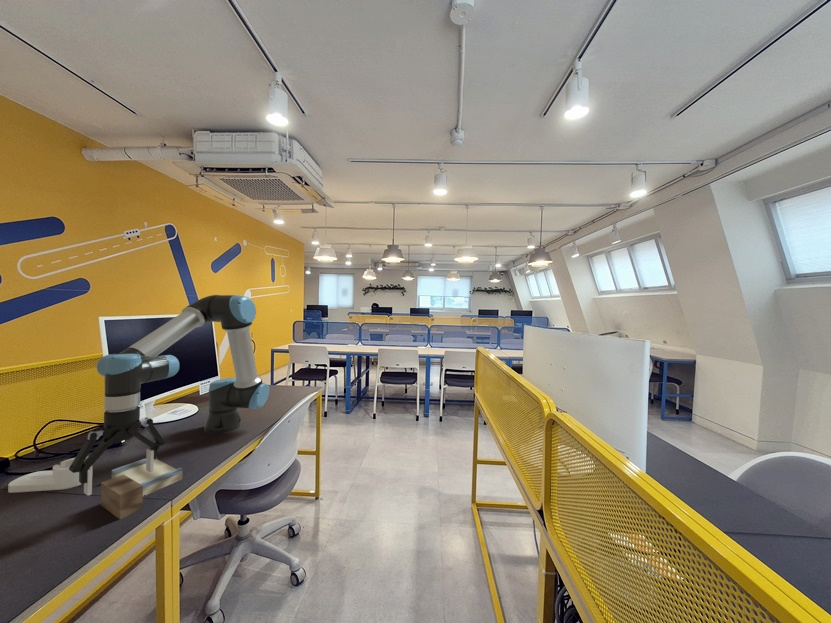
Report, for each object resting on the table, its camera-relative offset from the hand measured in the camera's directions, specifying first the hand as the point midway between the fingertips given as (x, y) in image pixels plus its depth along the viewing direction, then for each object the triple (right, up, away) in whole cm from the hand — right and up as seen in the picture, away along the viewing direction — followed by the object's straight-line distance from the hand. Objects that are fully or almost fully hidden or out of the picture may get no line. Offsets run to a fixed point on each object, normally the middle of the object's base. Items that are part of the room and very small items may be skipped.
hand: (120, 481), depth 89 cm
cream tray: (-5, -7, +14) cm, 16 cm away
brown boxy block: (0, -8, 0) cm, 8 cm away
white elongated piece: (-33, -7, +11) cm, 35 cm away
